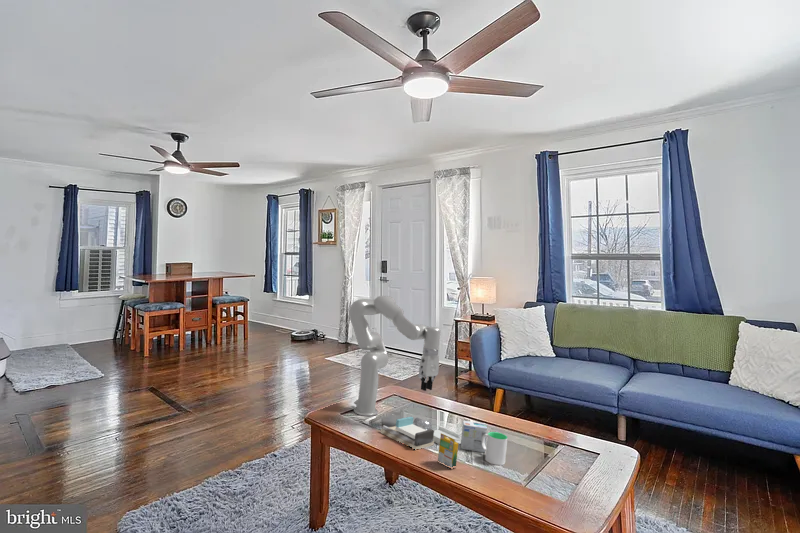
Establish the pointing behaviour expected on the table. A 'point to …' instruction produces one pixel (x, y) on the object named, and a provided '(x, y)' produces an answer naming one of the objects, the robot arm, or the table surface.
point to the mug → (495, 447)
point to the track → (420, 441)
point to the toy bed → (408, 427)
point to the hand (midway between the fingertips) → (426, 389)
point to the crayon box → (448, 451)
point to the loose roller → (422, 424)
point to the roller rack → (446, 432)
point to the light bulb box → (473, 436)
